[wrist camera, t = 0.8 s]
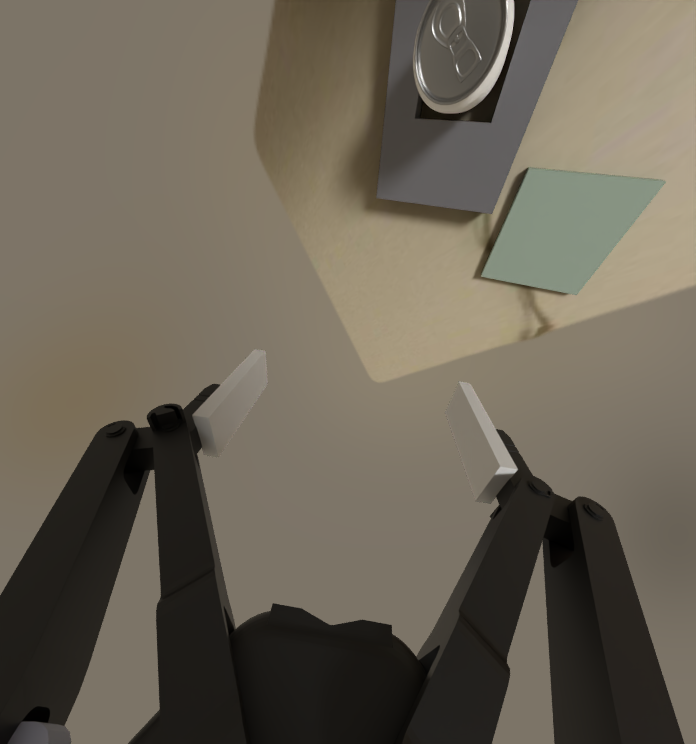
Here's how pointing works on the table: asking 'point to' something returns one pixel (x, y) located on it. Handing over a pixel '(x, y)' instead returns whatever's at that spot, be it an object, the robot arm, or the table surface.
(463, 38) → the can
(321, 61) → the table surface
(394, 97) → the block
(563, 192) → the mat
